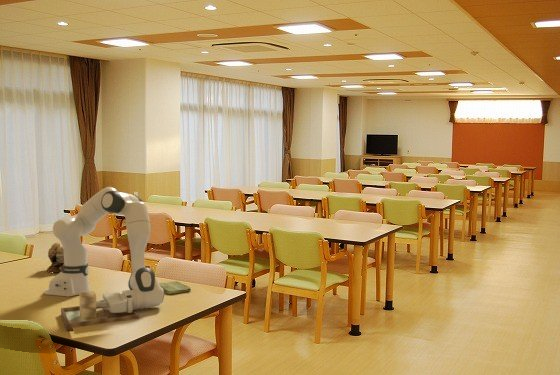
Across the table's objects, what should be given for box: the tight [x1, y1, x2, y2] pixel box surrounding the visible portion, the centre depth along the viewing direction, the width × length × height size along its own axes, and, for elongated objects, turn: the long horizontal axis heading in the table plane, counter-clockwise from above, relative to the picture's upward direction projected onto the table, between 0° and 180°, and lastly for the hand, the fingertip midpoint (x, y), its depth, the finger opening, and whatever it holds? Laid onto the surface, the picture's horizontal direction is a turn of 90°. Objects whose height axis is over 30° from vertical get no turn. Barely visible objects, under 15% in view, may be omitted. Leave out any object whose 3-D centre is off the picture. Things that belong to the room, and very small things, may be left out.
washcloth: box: [158, 280, 192, 296], centre depth 296 cm, size 13×18×3 cm
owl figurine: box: [46, 242, 64, 274], centre depth 335 cm, size 18×12×17 cm, turn 45°
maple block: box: [79, 290, 97, 320], centre depth 247 cm, size 6×6×10 cm
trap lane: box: [60, 305, 140, 332], centre depth 249 cm, size 29×24×3 cm
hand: (95, 304), depth 248 cm, fingers closed
